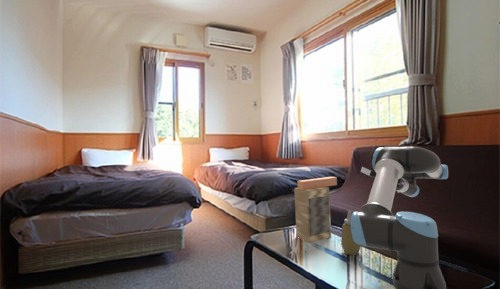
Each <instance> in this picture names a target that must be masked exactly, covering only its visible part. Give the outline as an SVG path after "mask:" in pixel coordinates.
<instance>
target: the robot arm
mask: <svg viewBox="0 0 500 289" xmlns="http://www.w3.org/2000/svg"><path fill="white" fill-rule="evenodd" d="M373 152H374V153H373V154H372V162H371V163H372V164H371V165H372V168H373V171H372V170H371V169H368V168H366V167H363V166H361V170H360V173H363V174H365V175H366V177H370V178H373V179H374V181H373V184H372V187H371V190H370V192H369V195H368V200H367V201H366V202H367V203H365V204H363V205H362V206H361V208H360V209H359V211H353V212H351V213H352V216H351V233H352V237H353V240H354V242H355V243H356V244H359V245H361V246H364V247H366V248H368V247H369V248H375V249H381V250H386V251H392V252H396V254H397V261H396V264H395V267H394V270H393V274H392V284H393V286H395V288H396V289H447V283H446V281H445V278H444V275H443V273H442V270H441V268H440V265H439V264H440V263H439V243H438V240H439V239H438V237H439V233H438V226H437V222H436V221H435V220H434V219H433V218H432V217H430V216H428V215H425V214H422V213H417V212H412V211H403V210H402V211H398V212H396V214H395V215H394V214H393V212H392V211H391V210H392V208H393V202H394V198H395V194H396V192H397V193H398V194H399V193H400V194H403V195H404V196H407V197H410V198H414V197H415V198H416V197H417V196H418V195H419V193H420V188H419V186H418V185H417V179H428V180H429V179H432V180H433V179H435V180H447V179H448V178H449V167H448V165H447V164H442V163H441V159H440V157H439V156H438V155H437V154H436V153H435V152H434V151H432V150H429V149H427V148H423V147H420V146H384V147H383V146H382V147H378V148H376V149H375V150H374V151H373Z"/></svg>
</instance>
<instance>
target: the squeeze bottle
mask: <svg viewBox="0 0 500 289" xmlns="http://www.w3.org/2000/svg"><path fill="white" fill-rule="evenodd" d="M352 213H353V212H352V211H351V210H347V216H346V218H345V219H344V222H343V224H342V226H341V229H342V230H341V240H340V241H341V243H340V245H341V247H342V249H343V252H344V254H346V255H350V256H356V255H359V252H360V249H361V246H362V245H359V244H356V243H355V242H354V240H353V237H352V233H351V216H352Z"/></svg>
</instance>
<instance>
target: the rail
mask: <svg viewBox="0 0 500 289" xmlns="http://www.w3.org/2000/svg"><path fill="white" fill-rule="evenodd" d="M337 185H338V180H337V176H326V177H319V178H311V179H303V180H301V179H300V180H297V188H298V189H301V190H306V189H313V188H320V187H333V186H337Z"/></svg>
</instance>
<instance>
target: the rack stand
mask: <svg viewBox="0 0 500 289" xmlns="http://www.w3.org/2000/svg"><path fill="white" fill-rule="evenodd" d="M293 190H294V208H295V210H294V211H295V230H296V232H295V233H296V235H295V236H296V238H298V237H299V238H298V239H300V238H301V239H300V240H302V241H304V242H307V243H308V244H309V243H312V242H313V243H314V242H317V241H322V240H324V239H329V238H332V222H331V202H330V201H331V200H330V186H327V187H320V188H313V189H306V190H301V189H298V187H294V189H293Z"/></svg>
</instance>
